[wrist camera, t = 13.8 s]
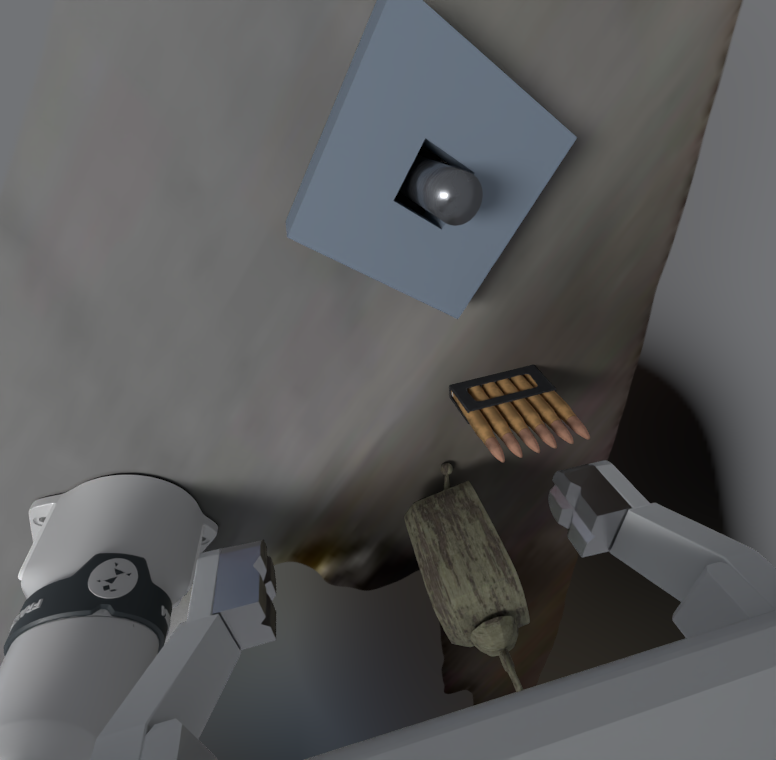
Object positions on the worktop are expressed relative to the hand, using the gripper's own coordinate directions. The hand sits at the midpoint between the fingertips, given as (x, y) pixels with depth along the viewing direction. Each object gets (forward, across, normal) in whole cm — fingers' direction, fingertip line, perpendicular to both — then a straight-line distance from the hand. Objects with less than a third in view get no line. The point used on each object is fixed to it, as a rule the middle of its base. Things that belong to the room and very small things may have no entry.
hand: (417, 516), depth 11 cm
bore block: (+29, -8, -4) cm, 31 cm away
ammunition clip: (+29, -18, +19) cm, 39 cm away
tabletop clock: (+29, -10, +37) cm, 48 cm away
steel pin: (+29, -8, -4) cm, 31 cm away
